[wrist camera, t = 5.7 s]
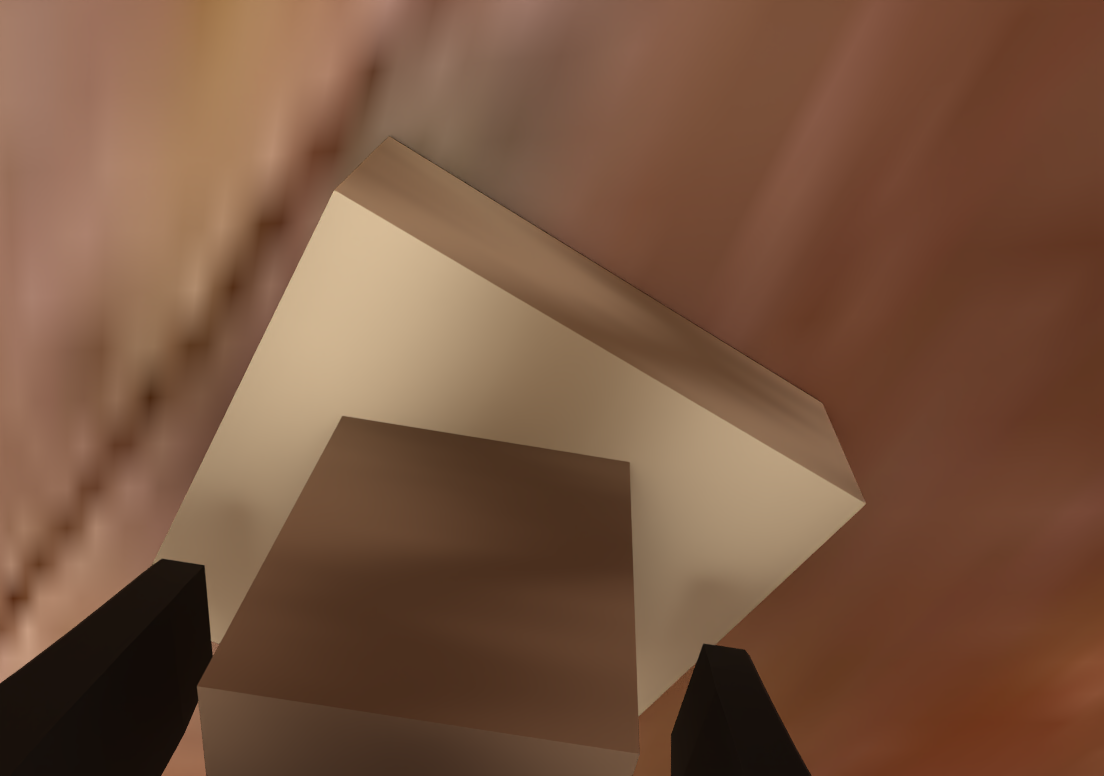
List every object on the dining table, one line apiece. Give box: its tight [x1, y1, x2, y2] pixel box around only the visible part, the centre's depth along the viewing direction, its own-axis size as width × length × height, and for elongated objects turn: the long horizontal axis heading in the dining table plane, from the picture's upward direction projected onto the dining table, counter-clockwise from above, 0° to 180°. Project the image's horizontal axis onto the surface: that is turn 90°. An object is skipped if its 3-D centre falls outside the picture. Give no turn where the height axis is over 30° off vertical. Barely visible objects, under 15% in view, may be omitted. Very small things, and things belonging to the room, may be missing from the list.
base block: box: [152, 136, 866, 717], centre depth 15 cm, size 9×9×3 cm
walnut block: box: [197, 416, 640, 776], centre depth 11 cm, size 4×4×5 cm
